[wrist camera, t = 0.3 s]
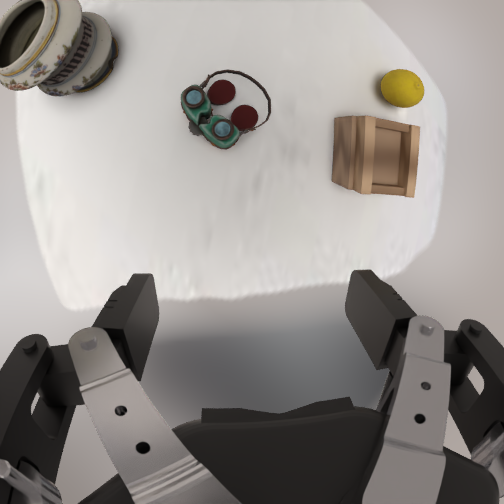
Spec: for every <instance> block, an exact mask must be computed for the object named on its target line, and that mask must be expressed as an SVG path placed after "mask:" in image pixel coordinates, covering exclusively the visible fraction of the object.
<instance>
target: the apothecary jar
mask: <svg viewBox="0 0 504 504" xmlns="http://www.w3.org/2000/svg"><path fill="white" fill-rule="evenodd" d="M117 56H118V45H117V42H116V40H115V39H114V38H113V37H112V35H111V30H110V27H109V25H108V23H107V22H106V20H105V19H104V18H103V17H101V16H100V15H97V14H95V13H90V12H82V8H81V5H80V3H79V1H78V0H20V1H19V2H17V3H16V4H15V5H13V6H12V7H11V8H10V9H9V10H8V11H7V12H6V13H5V15H4V16H3V17H2V18H1V20H0V83H1V84H2V85H3V86H5V87H6V88H8V89H10V90H15V91H18V90H26V89H30V88H32V87H34V86H36V85H37V86H38V87H39V89H40V90H42V91H43V92H44V93H46V94H48V95H51V96H65V95H69V94H72V93H74V92H85V91H89V90H91V89H93V88H95V87H97V86H98V85H100V84H101V83H102V82H103V81H104V80H105V79H106V78H107V77H108V76H109V74H110V73H111V71H112V70H113V61H114V60H115V59H116V58H117Z"/></svg>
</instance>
